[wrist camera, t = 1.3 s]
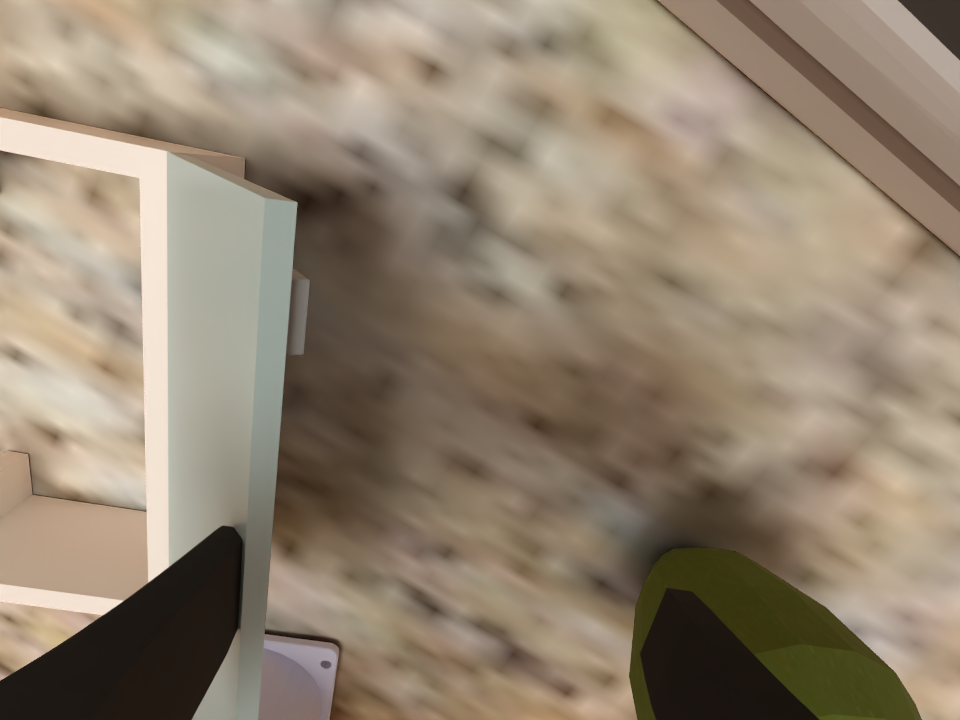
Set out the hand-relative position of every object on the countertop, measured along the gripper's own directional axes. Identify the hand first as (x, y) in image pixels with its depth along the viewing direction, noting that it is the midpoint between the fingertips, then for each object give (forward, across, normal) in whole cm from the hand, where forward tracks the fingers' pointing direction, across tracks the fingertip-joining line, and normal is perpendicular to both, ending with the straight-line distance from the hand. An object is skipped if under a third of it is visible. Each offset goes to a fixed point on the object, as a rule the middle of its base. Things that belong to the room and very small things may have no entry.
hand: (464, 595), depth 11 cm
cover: (+2, +7, 0) cm, 7 cm away
